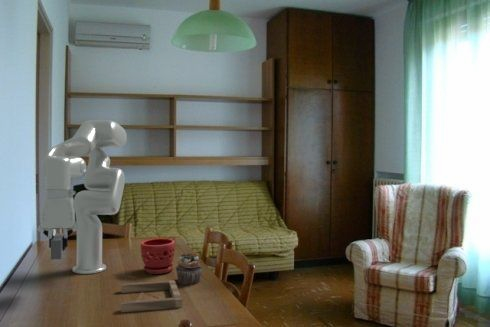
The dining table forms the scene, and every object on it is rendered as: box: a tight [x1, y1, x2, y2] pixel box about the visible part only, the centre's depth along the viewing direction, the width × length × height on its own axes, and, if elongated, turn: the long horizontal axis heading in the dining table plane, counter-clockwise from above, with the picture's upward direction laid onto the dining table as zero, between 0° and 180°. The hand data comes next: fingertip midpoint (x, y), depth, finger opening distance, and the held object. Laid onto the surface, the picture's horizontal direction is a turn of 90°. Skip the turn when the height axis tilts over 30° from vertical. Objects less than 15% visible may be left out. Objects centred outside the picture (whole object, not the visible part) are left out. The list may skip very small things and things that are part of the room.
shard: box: [135, 291, 160, 301], centre depth 141 cm, size 11×8×2 cm
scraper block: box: [50, 232, 67, 260], centre depth 146 cm, size 12×3×6 cm, turn 16°
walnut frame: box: [120, 279, 183, 313], centre depth 142 cm, size 20×18×2 cm
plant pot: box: [140, 237, 176, 275], centre depth 174 cm, size 13×13×12 cm
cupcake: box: [175, 253, 203, 285], centre depth 161 cm, size 10×10×10 cm
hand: (58, 249), depth 146 cm, fingers closed on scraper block, 2 cm apart
